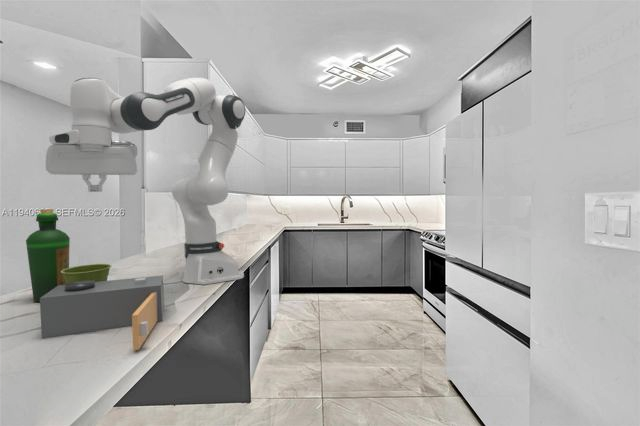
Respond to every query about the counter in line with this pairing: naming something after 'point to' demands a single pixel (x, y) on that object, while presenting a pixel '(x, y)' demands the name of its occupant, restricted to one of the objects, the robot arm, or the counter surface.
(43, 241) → the bottle
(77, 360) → the counter surface
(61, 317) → the grey cabinet
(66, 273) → the plant pot
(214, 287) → the counter surface
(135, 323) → the side door
